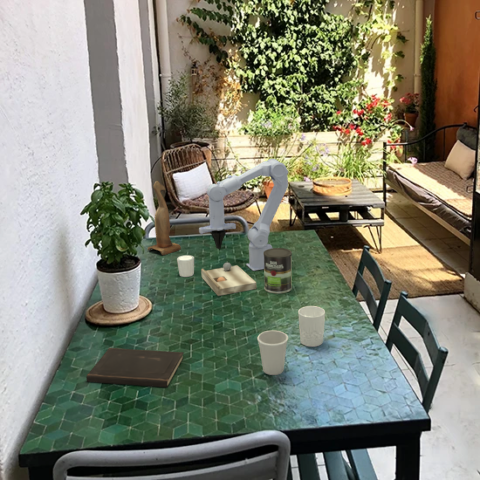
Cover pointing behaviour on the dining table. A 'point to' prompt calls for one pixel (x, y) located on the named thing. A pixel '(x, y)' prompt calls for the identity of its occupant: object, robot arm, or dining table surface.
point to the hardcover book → (135, 367)
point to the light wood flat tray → (228, 280)
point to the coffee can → (278, 270)
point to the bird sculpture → (162, 225)
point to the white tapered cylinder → (186, 265)
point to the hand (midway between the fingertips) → (218, 248)
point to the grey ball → (227, 266)
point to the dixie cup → (273, 351)
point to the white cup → (311, 325)
